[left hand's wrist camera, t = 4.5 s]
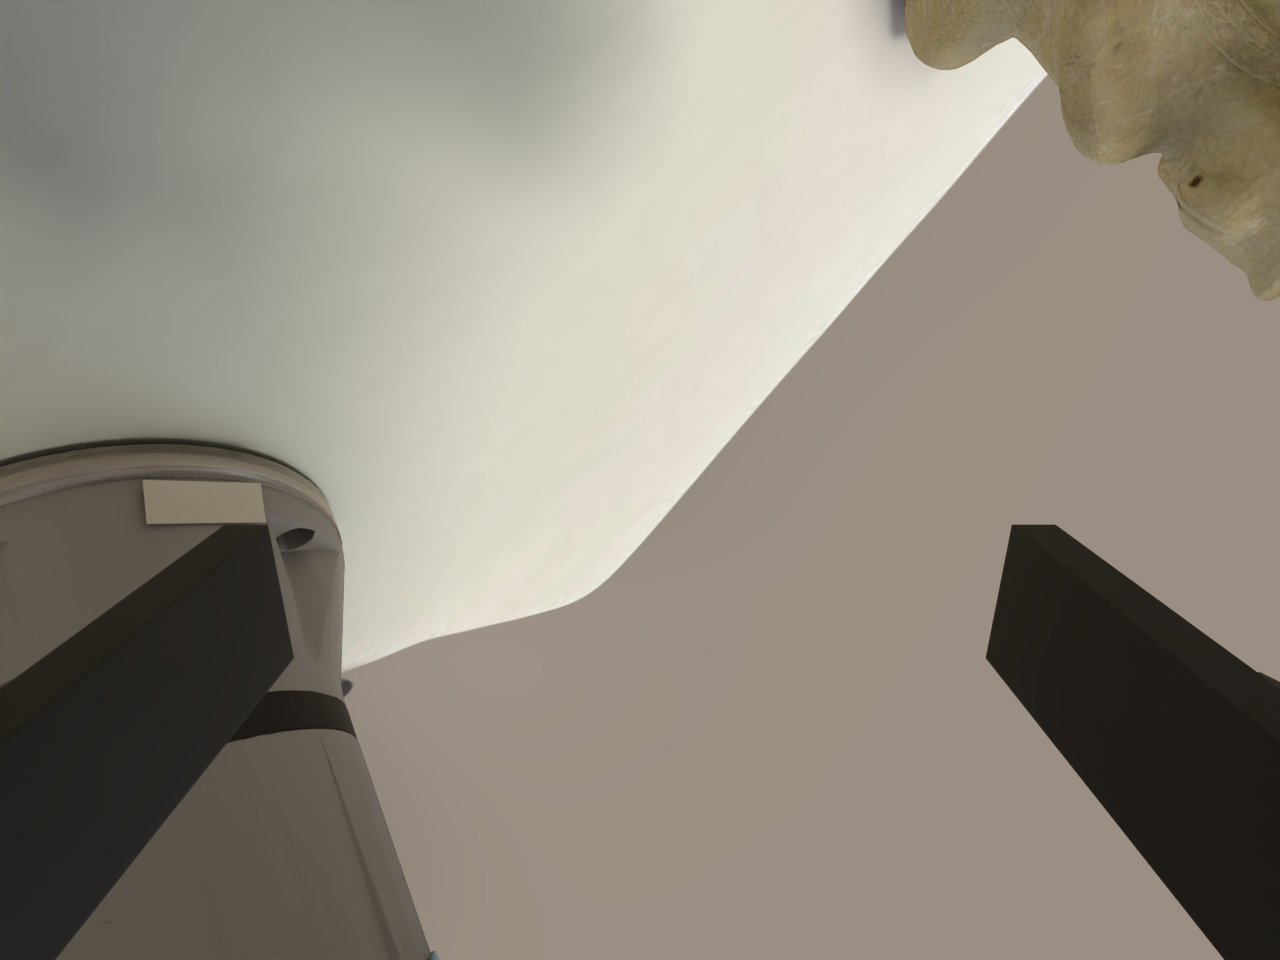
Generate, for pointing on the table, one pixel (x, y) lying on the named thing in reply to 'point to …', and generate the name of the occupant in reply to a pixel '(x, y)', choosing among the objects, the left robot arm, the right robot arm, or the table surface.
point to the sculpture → (1153, 98)
